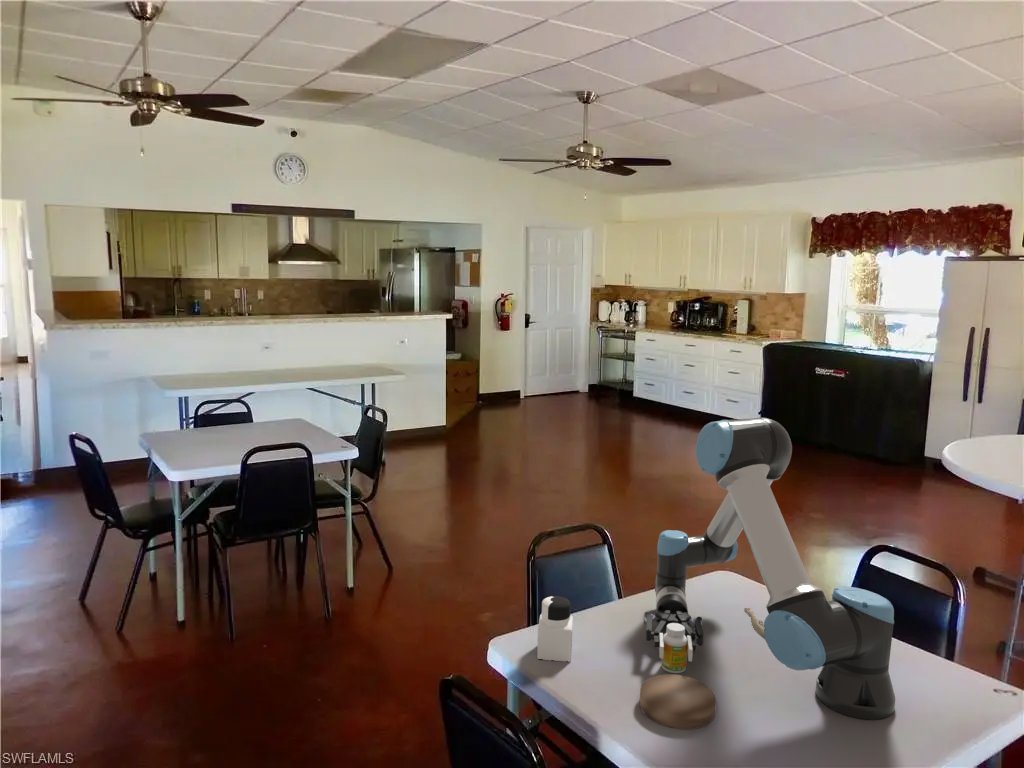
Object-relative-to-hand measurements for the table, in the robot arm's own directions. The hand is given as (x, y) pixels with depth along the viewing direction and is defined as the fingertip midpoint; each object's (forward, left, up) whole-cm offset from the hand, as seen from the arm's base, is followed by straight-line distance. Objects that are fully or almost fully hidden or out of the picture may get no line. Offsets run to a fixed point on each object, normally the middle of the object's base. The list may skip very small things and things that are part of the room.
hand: (676, 653), depth 165 cm
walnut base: (-8, +8, -6) cm, 12 cm away
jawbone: (+4, -40, -7) cm, 41 cm away
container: (+24, +14, -6) cm, 28 cm away
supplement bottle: (+4, -4, -6) cm, 8 cm away
